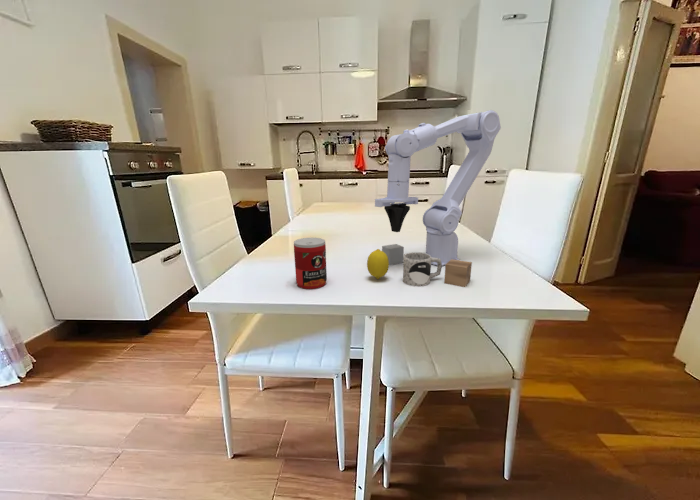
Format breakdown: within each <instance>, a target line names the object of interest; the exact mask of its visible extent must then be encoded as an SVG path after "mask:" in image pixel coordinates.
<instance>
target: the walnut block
mask: <svg viewBox="0 0 700 500" xmlns="http://www.w3.org/2000/svg"><path fill="white" fill-rule="evenodd" d="M472 264H473V262H472V261H466V260H460V259H459V260H454V259H451V260H450V261H449V262H448V263H447V264H446V265H444V266H445V267H444V268H445V269H444V284H447V285H451V286H456V287H462V288H466V287H467V285H468V284H469V283H470V282H471V277H472V275H471V274H472V267H473V266H472Z"/></svg>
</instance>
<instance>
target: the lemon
mask: <svg viewBox="0 0 700 500" xmlns="http://www.w3.org/2000/svg"><path fill="white" fill-rule="evenodd" d="M366 261H367V262H366V267H367V270H368V271H367V272H368V273H369V274H370V275H371V276H372V277H375V279H377V280H380V279H381V278H383V277H384V276H385V275H386V274H387V273H388V271H389V266H390V265H389V261H388V257H387V255H386V254H385V253H384V252H383V251H382V249H379V248H377V249H376V250H373V251H372V252H370V253H369V255H368V257H367V260H366Z"/></svg>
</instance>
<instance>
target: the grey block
mask: <svg viewBox="0 0 700 500" xmlns="http://www.w3.org/2000/svg"><path fill="white" fill-rule="evenodd" d="M404 248H405V247H404V246H403V245H400V244H398V243H393V244H386V245H382V246H381V251H383V252H384V253H385V254H386V255H387V257H388V261H389V266H393V265H399V264H404V255H405V254H404V250H405V249H404Z"/></svg>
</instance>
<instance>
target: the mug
mask: <svg viewBox="0 0 700 500" xmlns="http://www.w3.org/2000/svg"><path fill="white" fill-rule="evenodd" d="M431 262H437V264H438V266H437V268H436V271H435V272H431V271H432V270H431V269H432V264H431ZM441 272H442V264H441V259H439V258H433V257H431V256H430V255H428V254H426V252H424V253H423V252H408V253H405V254H404V256H403V272H402V282H403V283H404V284H406V285H408V286H410V287H424V286H428V285H430V283H431V279H433V278H435V277H438V276H440V275H441Z"/></svg>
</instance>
